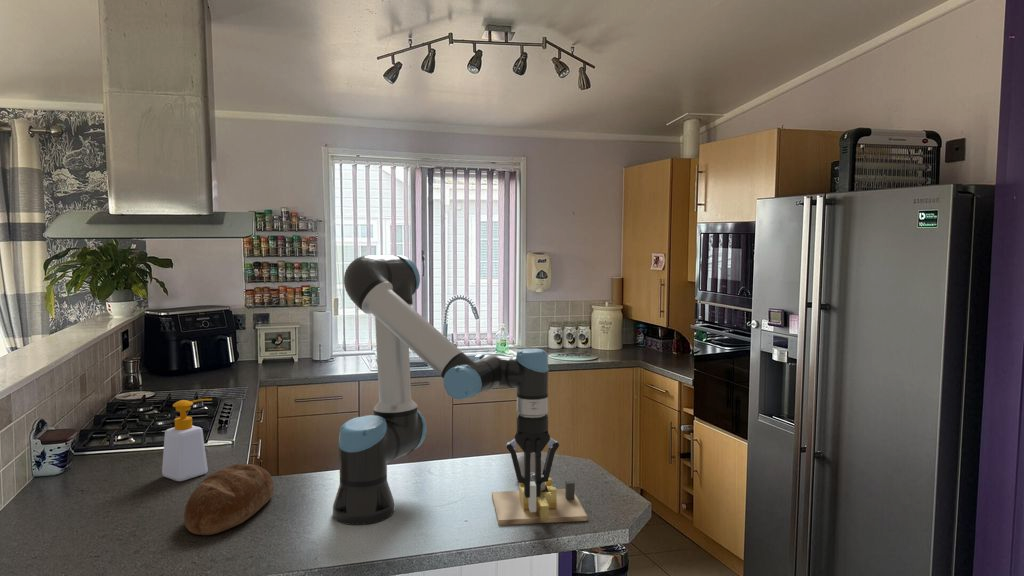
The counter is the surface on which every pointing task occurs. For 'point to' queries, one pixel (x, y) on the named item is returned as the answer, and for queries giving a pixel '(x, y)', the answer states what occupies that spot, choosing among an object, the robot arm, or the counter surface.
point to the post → (532, 478)
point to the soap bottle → (184, 447)
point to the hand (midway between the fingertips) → (532, 509)
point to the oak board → (513, 513)
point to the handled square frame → (541, 499)
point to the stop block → (569, 490)
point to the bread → (227, 498)
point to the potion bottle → (532, 463)
